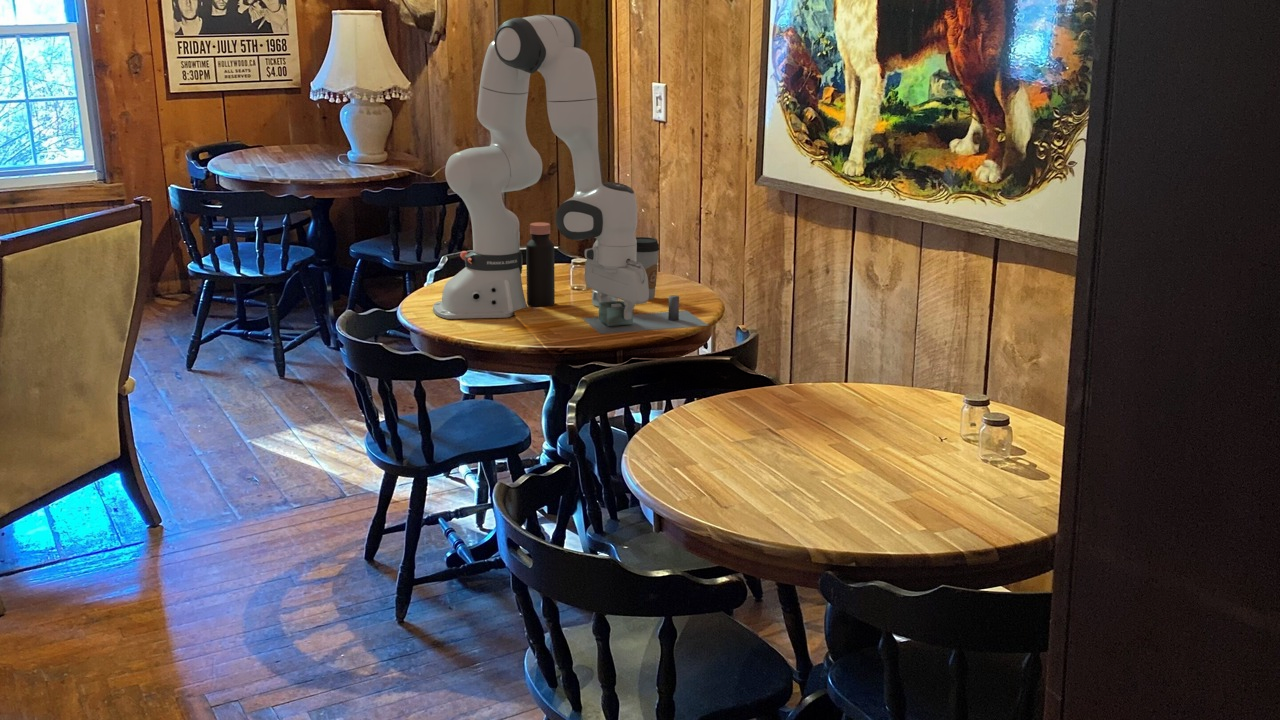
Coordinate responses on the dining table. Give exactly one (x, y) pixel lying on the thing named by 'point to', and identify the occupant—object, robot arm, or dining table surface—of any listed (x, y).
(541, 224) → the vinegar
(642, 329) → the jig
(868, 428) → the dining table surface
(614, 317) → the collar
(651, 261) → the coffee cup
